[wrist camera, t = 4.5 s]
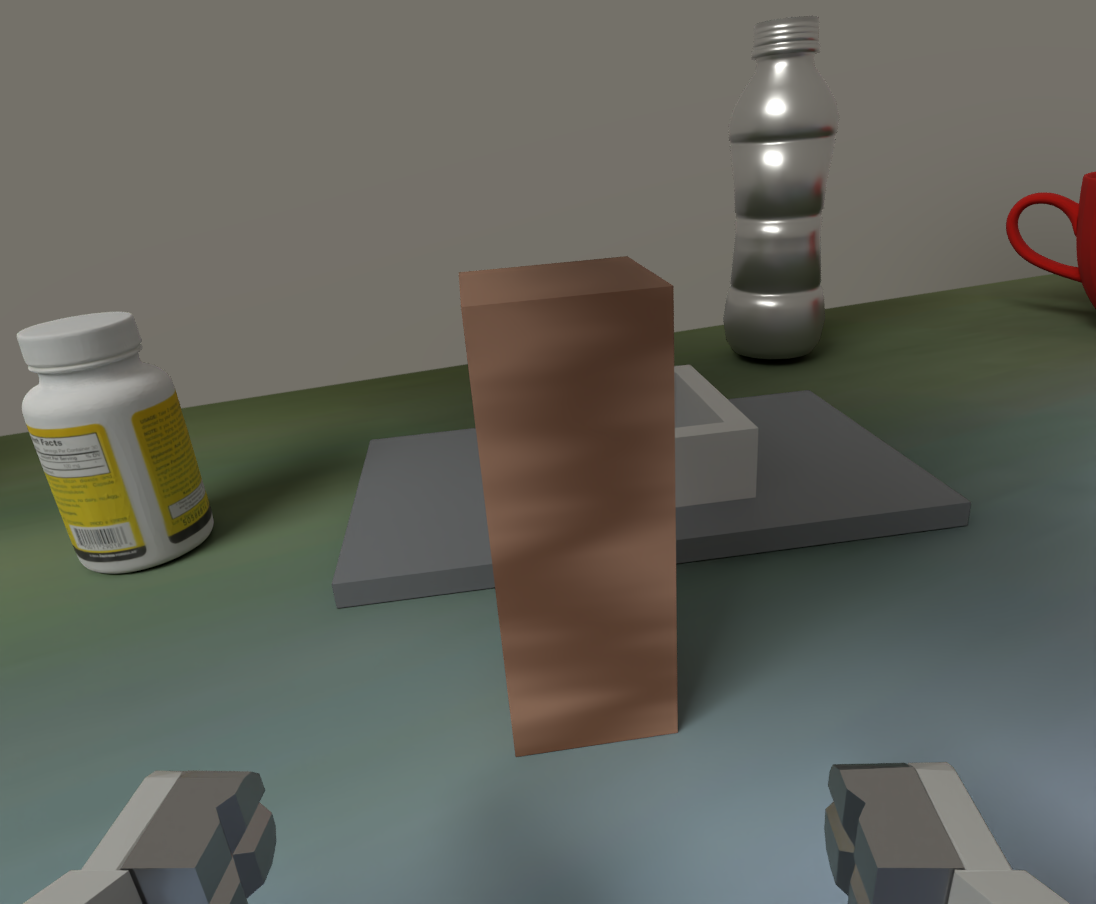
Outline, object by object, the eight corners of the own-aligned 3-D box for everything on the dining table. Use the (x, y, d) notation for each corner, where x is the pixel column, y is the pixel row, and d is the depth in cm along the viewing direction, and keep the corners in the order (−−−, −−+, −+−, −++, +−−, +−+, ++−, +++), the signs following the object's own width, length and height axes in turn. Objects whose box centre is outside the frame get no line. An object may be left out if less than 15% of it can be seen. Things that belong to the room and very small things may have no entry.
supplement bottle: (200, 503, 36) (141, 301, 32) (230, 545, 32) (166, 318, 28) (73, 543, 33) (-8, 326, 29) (87, 594, 29) (-6, 350, 25)
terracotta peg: (515, 756, 20) (461, 307, 15) (504, 652, 24) (458, 272, 19) (677, 732, 20) (673, 286, 15) (639, 634, 24) (627, 256, 19)
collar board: (337, 608, 27) (315, 509, 25) (373, 457, 40) (360, 385, 38) (967, 525, 29) (983, 428, 27) (807, 407, 42) (812, 337, 40)
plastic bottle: (786, 338, 55) (802, 27, 47) (843, 361, 49) (872, 9, 41) (705, 351, 53) (708, 32, 45) (754, 376, 47) (766, 14, 39)
